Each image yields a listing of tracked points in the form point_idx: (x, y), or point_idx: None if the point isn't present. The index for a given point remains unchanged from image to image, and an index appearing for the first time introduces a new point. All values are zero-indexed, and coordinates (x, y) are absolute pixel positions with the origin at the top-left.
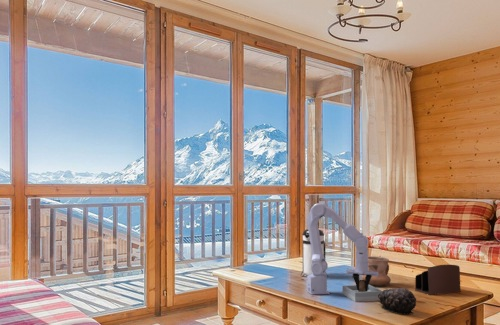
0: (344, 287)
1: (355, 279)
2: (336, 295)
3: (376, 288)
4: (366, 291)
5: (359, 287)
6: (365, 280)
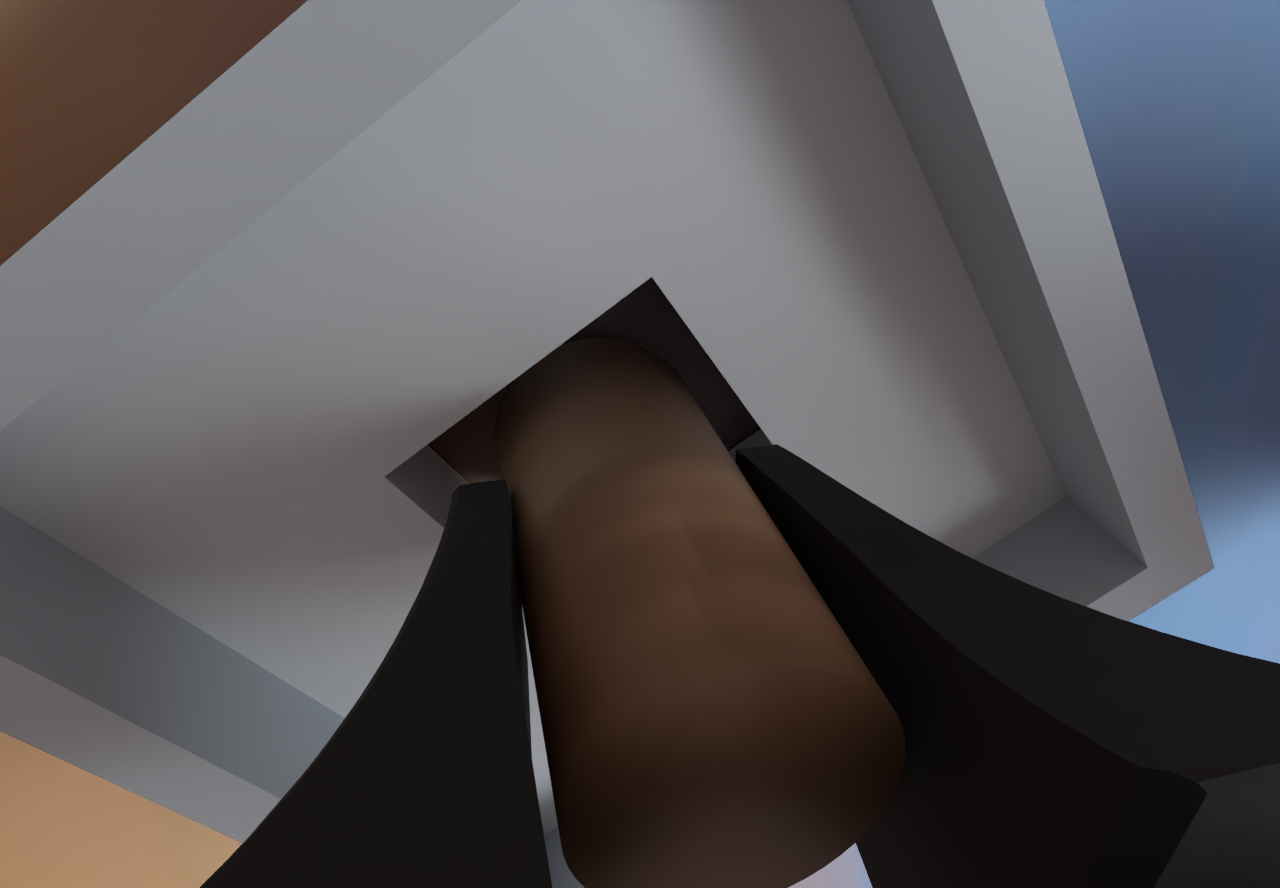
0: (1172, 470)
1: (1120, 652)
2: (1213, 255)
3: (189, 794)
4: (530, 658)
5: (747, 492)
6: (579, 880)
